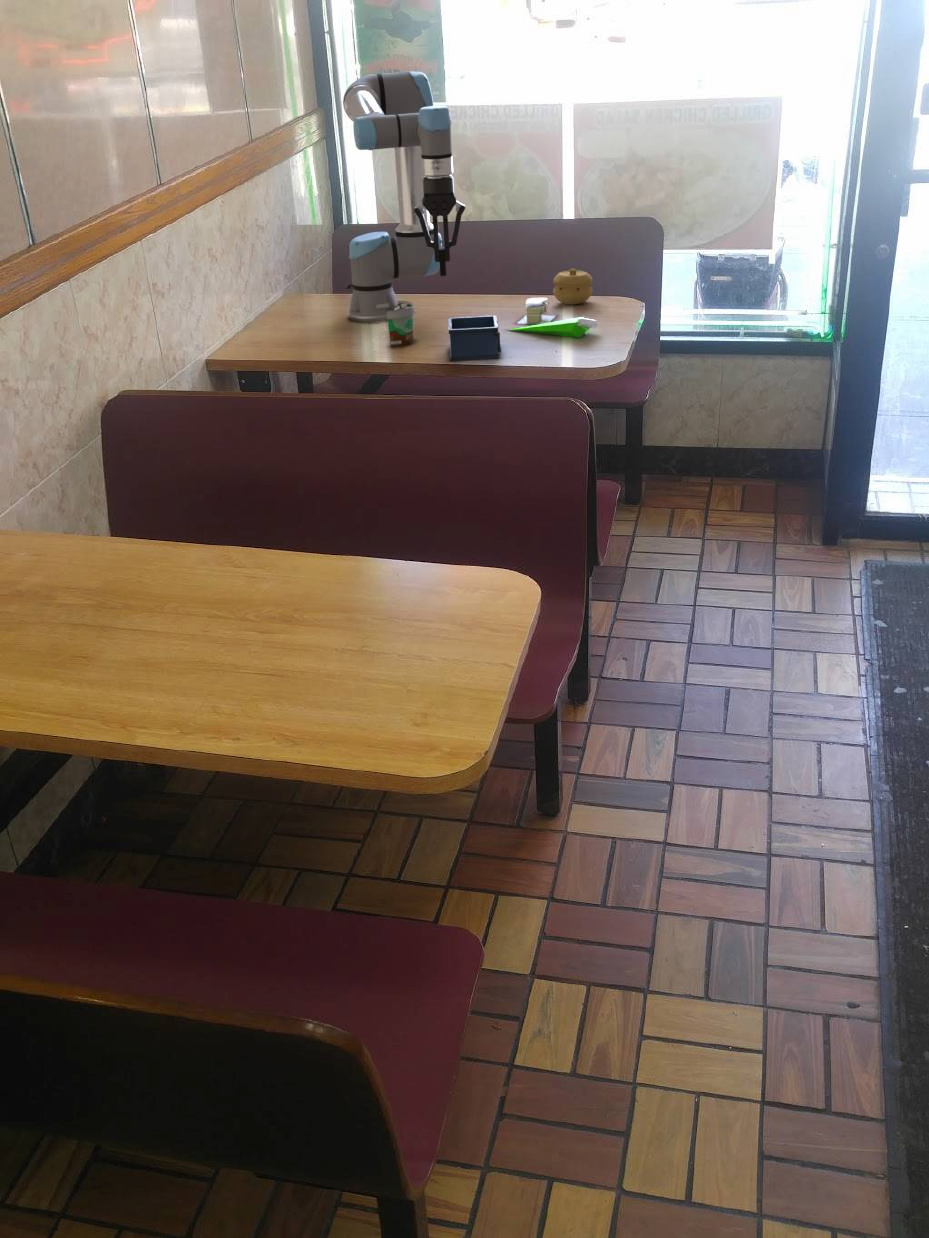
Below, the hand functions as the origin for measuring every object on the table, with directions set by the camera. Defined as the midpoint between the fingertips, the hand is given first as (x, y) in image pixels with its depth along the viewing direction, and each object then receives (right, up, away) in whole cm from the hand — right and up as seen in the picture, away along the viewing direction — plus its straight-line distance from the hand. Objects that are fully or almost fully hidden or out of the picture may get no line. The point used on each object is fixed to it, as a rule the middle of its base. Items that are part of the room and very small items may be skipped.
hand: (443, 274), depth 286 cm
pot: (+38, +7, +52) cm, 65 cm away
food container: (-11, -12, +22) cm, 27 cm away
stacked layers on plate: (+26, -2, +37) cm, 45 cm away
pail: (+1, -15, +8) cm, 16 cm away
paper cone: (+29, -10, +21) cm, 37 cm away
